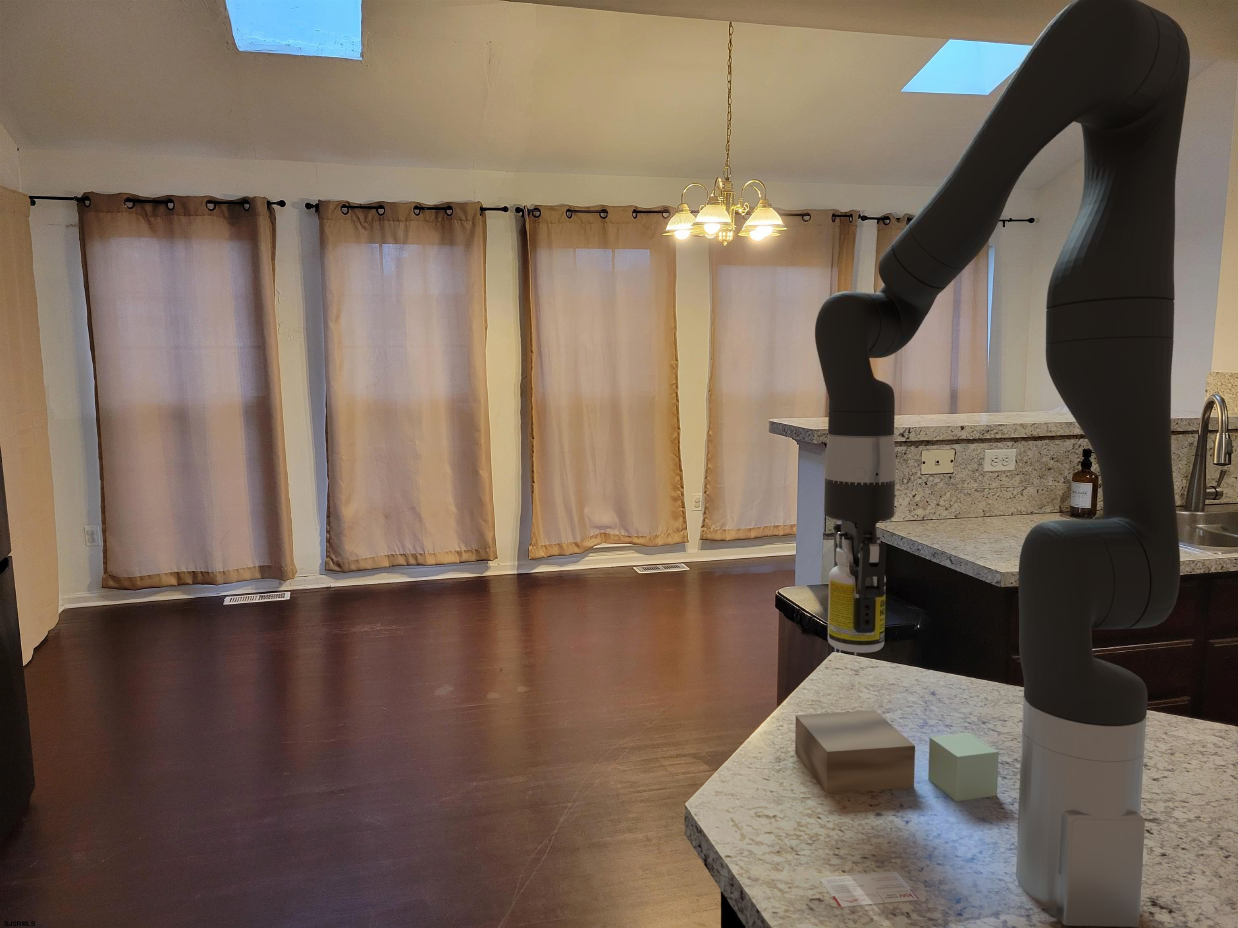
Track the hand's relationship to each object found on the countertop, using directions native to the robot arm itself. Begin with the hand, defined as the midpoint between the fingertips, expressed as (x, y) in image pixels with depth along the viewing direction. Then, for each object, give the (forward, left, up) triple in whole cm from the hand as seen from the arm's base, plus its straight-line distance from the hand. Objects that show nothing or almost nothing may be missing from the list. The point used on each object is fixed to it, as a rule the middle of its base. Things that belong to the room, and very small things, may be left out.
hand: (856, 622), depth 93 cm
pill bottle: (0, 0, -3) cm, 3 cm away
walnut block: (0, 0, -18) cm, 18 cm away
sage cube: (-4, -11, -17) cm, 21 cm away
